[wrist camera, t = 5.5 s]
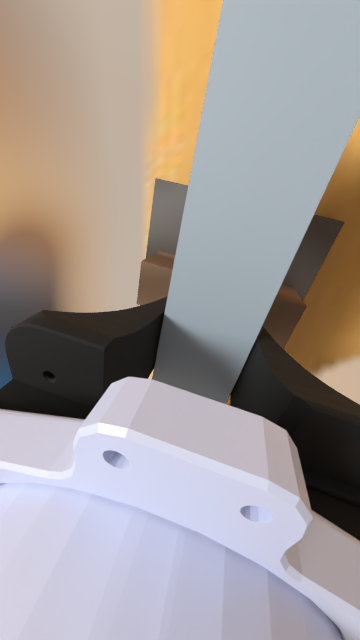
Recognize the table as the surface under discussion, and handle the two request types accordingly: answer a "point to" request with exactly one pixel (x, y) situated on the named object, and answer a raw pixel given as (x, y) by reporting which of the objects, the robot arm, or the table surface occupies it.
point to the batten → (256, 177)
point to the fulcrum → (292, 289)
